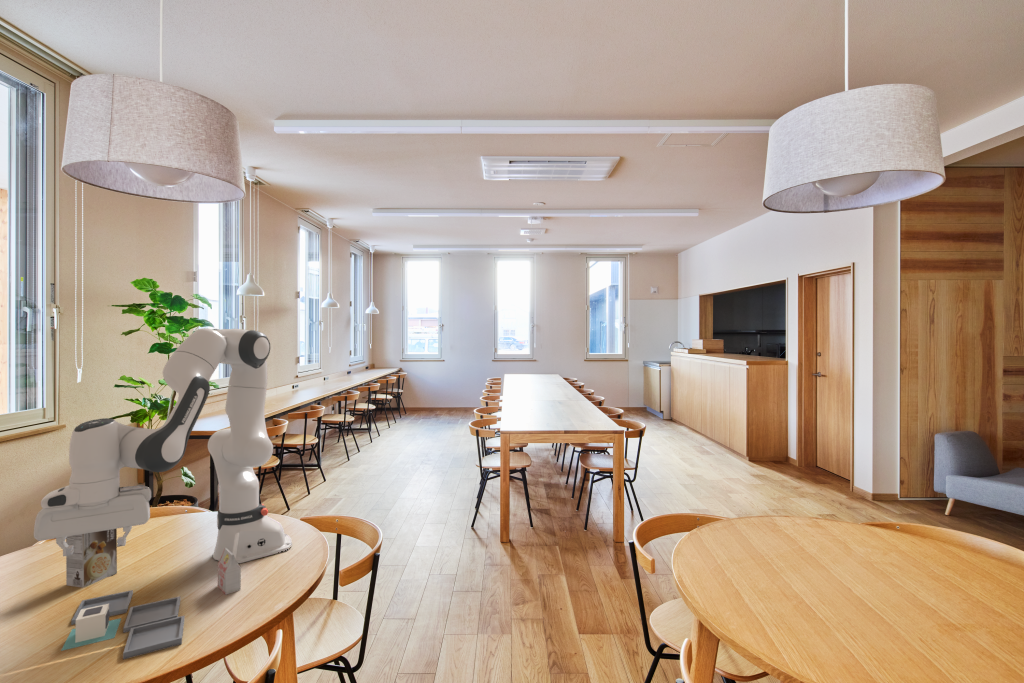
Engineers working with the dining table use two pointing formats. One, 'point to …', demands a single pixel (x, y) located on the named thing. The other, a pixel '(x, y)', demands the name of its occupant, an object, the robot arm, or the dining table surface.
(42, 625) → the dining table surface
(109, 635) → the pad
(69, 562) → the coffee box
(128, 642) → the dish
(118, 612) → the dish
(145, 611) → the dish
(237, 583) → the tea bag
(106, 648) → the dining table surface
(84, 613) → the white cube
